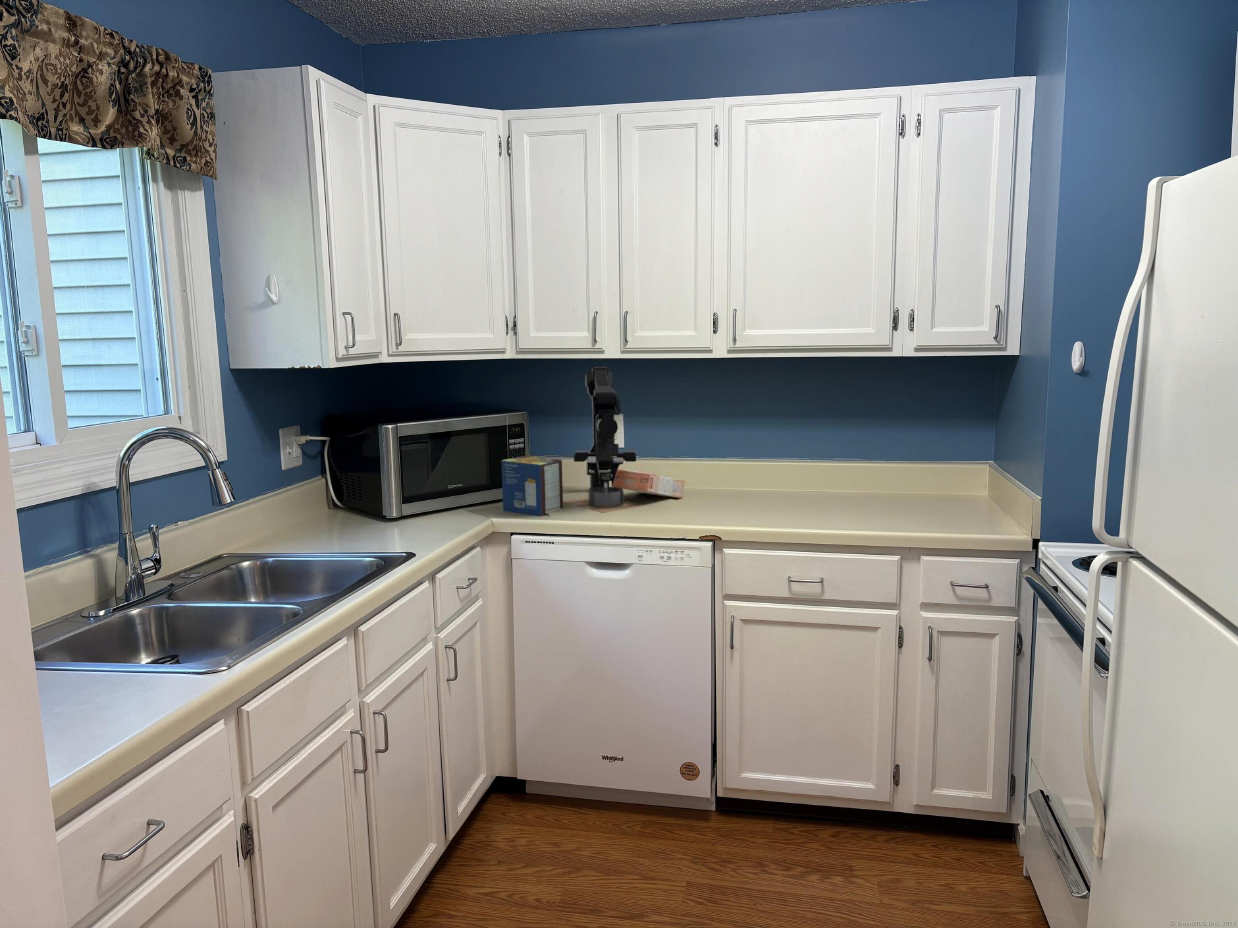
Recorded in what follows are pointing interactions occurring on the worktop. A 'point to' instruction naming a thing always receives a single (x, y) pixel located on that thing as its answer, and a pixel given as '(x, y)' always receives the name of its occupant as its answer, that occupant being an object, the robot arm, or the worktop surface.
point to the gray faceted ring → (605, 497)
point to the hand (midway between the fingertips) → (605, 484)
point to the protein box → (532, 485)
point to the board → (585, 504)
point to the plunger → (605, 480)
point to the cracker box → (648, 483)
